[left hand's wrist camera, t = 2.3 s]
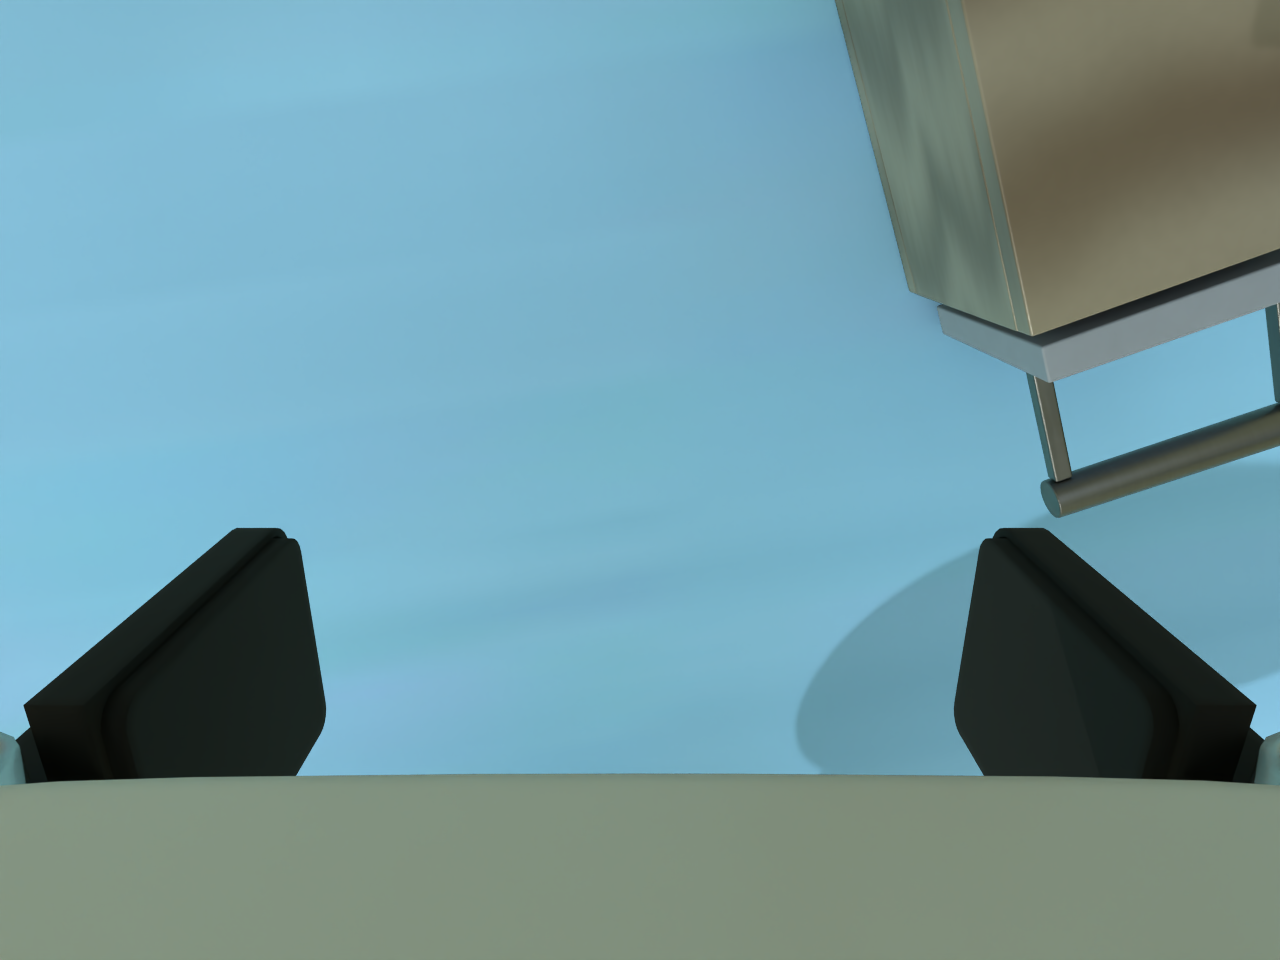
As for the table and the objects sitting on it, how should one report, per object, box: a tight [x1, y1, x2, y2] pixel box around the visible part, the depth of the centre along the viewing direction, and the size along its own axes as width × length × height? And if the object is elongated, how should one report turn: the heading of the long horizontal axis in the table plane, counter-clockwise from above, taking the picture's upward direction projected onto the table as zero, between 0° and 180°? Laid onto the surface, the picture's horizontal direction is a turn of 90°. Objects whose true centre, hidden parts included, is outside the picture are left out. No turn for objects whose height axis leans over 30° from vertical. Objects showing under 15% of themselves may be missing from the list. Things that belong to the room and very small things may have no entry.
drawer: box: [937, 249, 1280, 518], centre depth 26 cm, size 24×9×9 cm, turn 21°
